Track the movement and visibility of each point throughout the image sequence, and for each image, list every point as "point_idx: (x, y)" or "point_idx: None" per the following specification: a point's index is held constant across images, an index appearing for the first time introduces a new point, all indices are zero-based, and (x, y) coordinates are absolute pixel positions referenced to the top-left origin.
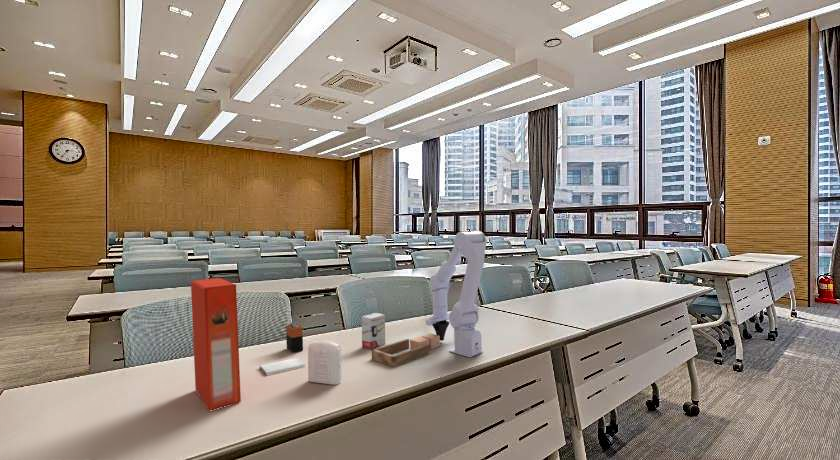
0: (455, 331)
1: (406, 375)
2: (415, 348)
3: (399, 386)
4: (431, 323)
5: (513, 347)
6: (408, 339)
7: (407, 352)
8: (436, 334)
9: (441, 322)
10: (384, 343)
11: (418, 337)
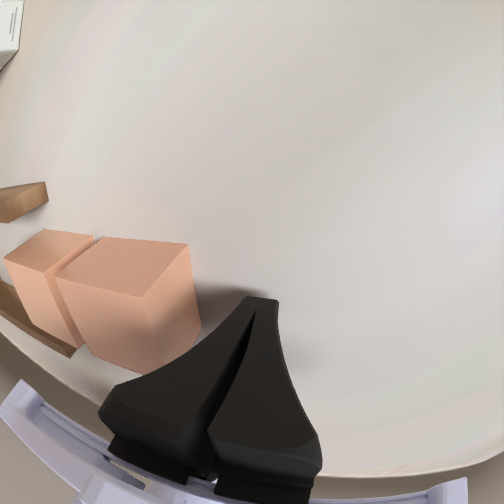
0: (150, 483)
1: (22, 335)
2: (23, 326)
3: (15, 341)
4: (59, 425)
5: (365, 469)
6: (6, 221)
7: (6, 318)
8: (222, 323)
9: (217, 476)
10: (11, 55)
11: (36, 277)
